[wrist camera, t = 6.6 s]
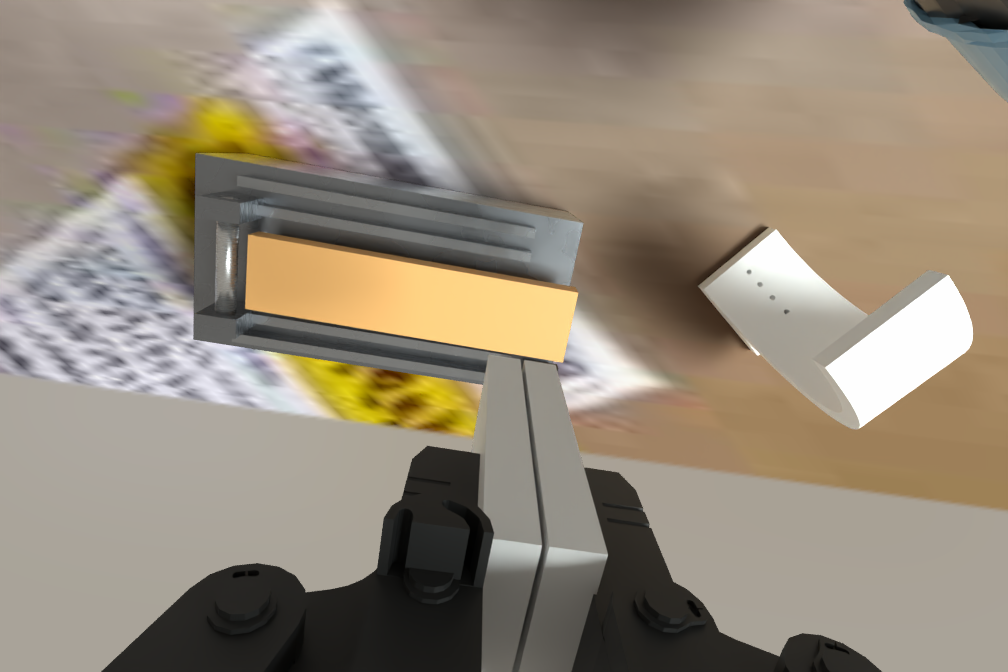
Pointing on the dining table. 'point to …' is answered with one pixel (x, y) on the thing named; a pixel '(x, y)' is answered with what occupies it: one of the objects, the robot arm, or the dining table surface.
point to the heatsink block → (362, 225)
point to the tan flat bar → (408, 296)
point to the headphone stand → (838, 329)
